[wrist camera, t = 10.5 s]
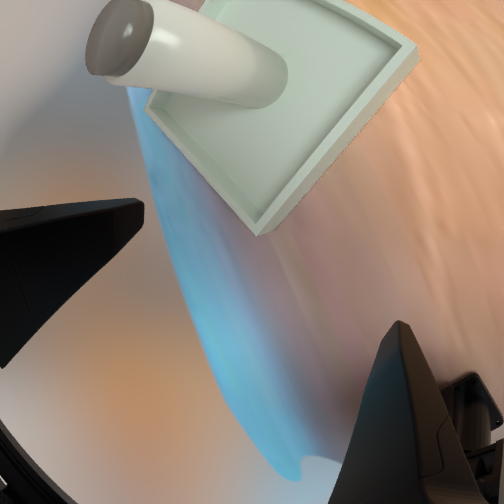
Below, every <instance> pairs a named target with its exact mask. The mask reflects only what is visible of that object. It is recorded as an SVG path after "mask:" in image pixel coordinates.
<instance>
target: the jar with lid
mask: <svg viewBox="0 0 504 504" xmlns="http://www.w3.org/2000/svg"><path fill="white" fill-rule="evenodd" d="M85 59H86V66H87V69H88V71H89V72H90V73H91V74H93V75H102V76H105V78H106V80H107V81H108V82H109V83H110V84H113V85H122V86H130V87H139V88H147V89H154V90H161V91H168V92H174V93H180V94H186V95H191V96H197V97H202V98H207V99H212V100H217V101H221V102H226V103H230V104H234V105H238V106H243V107H247V108H251V109H260V108H264V107H267V106H269V105H271V104H272V103H274V102H275V101H276V100H277V99H278V98H279V97H280V96H281V95H282V93H283V92H284V90H285V88H286V85H287V81H288V68H287V64H286V62H285V60H284V59H283V57H282V56H281V55H280V54H278V53H277V52H275V51H274V50H272V49H270V48H268V47H267V46H265V45H263V44H261V43H259V42H258V41H256V40H254V39H252V38H250V37H248V36H247V35H245V34H243V33H241V32H239V31H237V30H235V29H233V28H231V27H229V26H227V25H225V24H223V23H221V22H218V21H216V20H214V19H212V18H210V17H207V16H205V15H203V14H201V13H198V12H196V11H194V10H191V9H189V8H186V7H184V6H181V5H179V4H176V3H173V2H171V1H168V0H111V1H110V2H109V3H108V4H107V5H106V6H105V7H104V9H103V10H102V11H101V13H100V14H99V16H98V17H97V19H96V21H95V23H94V25H93V27H92V30H91V32H90V35H89V38H88V42H87V47H86V57H85Z"/></svg>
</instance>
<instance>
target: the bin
mask: <svg viewBox="0 0 504 504" xmlns="http://www.w3.org/2000/svg"><path fill="white" fill-rule="evenodd" d="M198 13H201V14H203V15H205V16H207V17H210V18H212V19H214V20H216V21H218V22H221V23H223V24H225V25H227V26H229V27H231V28H233V29H235V30H237V31H239V32H241V33H243V34H245V35H247V36H248V37H250V38H252V39H254V40H256V41H258V42H259V43H261V44H263V45H265V46H267V47H268V48H270V49H272V50H274V51H275V52H277V53H278V54H280V55H281V56H282V57H283V59H284V60H285V62H286V64H287V68H288V81H287V85H286V88H285V90H284V92H283V93H282V95H281V96H280V97H279V98H278V99H277V100H276V101H275V102H274V103H272V104H271V105H269V106H267V107H264V108H260V109H251V108H247V107H243V106H238V105H234V104H230V103H226V102H221V101H217V100H212V99H207V98H202V97H197V96H191V95H186V94H180V93H174V92H168V91H161V90H154V89H153V91H152V93H151V95H150V97H149V99H148V101H147V103H146V106H145V108H144V111H145V112H146V113H147V114H148V115H149V117H150V118H151V119H152V120H153V121H154V122H155V123H156V124H157V125H158V127H159V128H160V129H161V130H162V131H163V132H164V133H165V134H166V135H167V136H168V138H169V139H170V140H171V141H172V142H173V143H174V144H175V145H176V147H177V148H178V149H179V150H180V151H181V152H182V153H183V154H184V155H185V157H186V158H187V159H188V160H189V161H190V162H191V163H192V164H193V166H194V167H195V168H196V169H197V170H198V171H199V172H200V173H201V175H202V176H203V177H204V178H205V179H206V180H207V181H208V182H209V184H210V185H211V186H212V187H213V188H214V189H215V190H216V191H217V193H218V194H219V195H220V196H221V197H222V198H223V199H224V201H225V202H226V203H227V204H228V205H229V206H230V207H231V208H232V210H233V211H234V212H235V213H236V214H237V215H238V216H239V218H240V219H241V220H242V221H243V222H244V223H245V224H246V226H247V227H248V228H249V229H250V230H251V231H252V232H253V234H254V235H255V236H256V237H257V236H259V235H262V234H265V233H268V232H270V231H273V230H275V229H276V228H277V227H278V226H279V225H280V223H281V222H282V221H283V220H284V219H285V218H286V216H287V215H288V214H289V213H290V212H291V211H292V209H293V208H294V207H295V206H296V205H297V204H298V202H299V201H300V200H301V199H302V198H303V197H304V195H305V194H306V193H307V192H308V191H309V190H310V188H311V187H312V186H313V185H314V184H315V183H316V182H317V180H318V179H319V178H320V177H321V176H322V175H323V173H324V172H325V171H326V170H327V169H328V168H329V166H330V165H331V164H332V163H333V162H334V161H335V159H336V158H337V157H338V156H339V155H340V154H341V152H342V151H343V150H344V149H345V148H346V147H347V145H348V144H349V143H350V142H351V141H352V140H353V138H354V137H355V136H356V135H357V134H358V133H359V131H360V130H361V129H362V128H363V127H364V126H365V124H366V123H367V122H368V121H369V120H370V118H371V117H372V116H373V115H374V114H375V113H376V111H377V110H378V109H379V108H380V107H381V106H382V104H383V103H384V102H385V101H386V100H387V99H388V97H389V96H390V95H391V94H392V93H393V92H394V90H395V89H396V88H397V87H398V86H399V85H400V83H401V82H402V81H403V80H404V79H405V77H406V76H407V75H408V74H409V73H410V72H411V70H412V69H413V68H414V67H415V66H416V65H417V63H418V62H419V61H420V57H419V52H418V47H417V45H416V44H415V43H413V42H412V41H411V40H409V39H408V38H406V37H405V36H403V35H402V34H400V33H399V32H397V31H396V30H394V29H392V28H391V27H389V26H388V25H386V24H384V23H383V22H381V21H380V20H378V19H376V18H374V17H373V16H371V15H369V14H367V13H366V12H364V11H362V10H360V9H358V8H356V7H355V6H353V5H351V4H349V3H347V2H345V1H343V0H206V1H205V2H204V4H203V5H202V7H201V8H200V10H199V11H198Z"/></svg>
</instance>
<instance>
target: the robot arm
mask: <svg viewBox="0 0 504 504" xmlns="http://www.w3.org/2000/svg"><path fill="white" fill-rule="evenodd" d="M143 224H144V203H143V202H142V201H140V200H138V199H136V198H126V199H125V198H124V199H112V200H99V201H88V202H77V203H67V204H58V205H49V206H40V207H31V208H21V209H11V210H0V367H1V368H2V369H3V368H4V367H5V366H6V365H7V364H8V363H9V362H10V361H11V359H12V358H13V357H14V356H15V355H16V354H17V353H18V352H19V351H20V349H21V348H22V347H23V346H24V345H25V344H26V343H27V342H28V341H29V340H30V338H31V337H32V336H33V335H34V334H35V333H36V332H37V331H38V330H39V329H40V328H41V327H42V326H43V324H44V323H45V322H46V321H47V320H48V319H49V318H50V317H51V316H52V315H53V314H54V313H55V312H56V311H57V310H58V309H59V308H60V307H61V306H62V305H63V304H64V303H65V302H66V301H67V300H68V299H69V298H70V297H71V296H72V295H74V293H75V292H77V291H78V290H79V289H80V288H81V287H82V286H83V285H84V284H85V283H86V282H87V281H88V280H89V279H90V278H91V277H92V276H93V275H95V274H96V273H97V272H98V271H99V270H100V269H101V268H102V267H103V266H105V265H106V264H107V263H108V262H109V261H110V260H111V259H112V258H113V257H114V256H115V255H116V254H117V253H118V252H119V251H120V250H121V249H122V248H123V247H124V246H125V245H126V244H127V243H128V242H129V241H130V240H131V239H132V238H133V237H134V235H135V234H136V233H137V232H138V231H139V230H140V229H141V228H142V226H143ZM472 380H476V381H474V382H471V381H472ZM497 421H499V422H497ZM503 422H504V420H503V416H502V414H501V412H500V410H499V409H498V407H497V405H496V403H495V402H494V400H493V398H492V396H491V395H490V393H489V391H488V390H487V388H486V386H485V385H484V383H483V381H482V380H481V378H480V376H479V375H478V374H471V375H469V376H468V377H466V378H465V379H463V380H461V381H460V382H458V383H456V384H454V385H453V386H450V387H448V388H446V389H444V390H442V391H441V392H440V391H439V389H438V386H437V384H436V381H435V379H434V377H433V375H432V372H431V370H430V368H429V366H428V363H427V361H426V359H425V357H424V355H423V352H422V350H421V348H420V346H419V344H418V342H417V340H416V338H415V336H414V334H413V332H412V330H411V328H410V326H409V325H408V324H406V323H404V322H402V321H400V320H397V321H396V322H395V323H394V324H393V325H392V327H391V328H390V329H389V331H388V332H387V333H386V335H385V336H384V338H383V339H382V341H381V343H380V346H379V349H378V352H377V355H376V358H375V361H374V364H373V367H372V370H371V373H370V376H369V378H368V381H367V384H366V387H365V391H364V395H363V398H362V402H361V406H360V410H359V414H358V417H357V421H356V424H355V428H354V431H353V434H352V438H351V441H350V444H349V447H348V450H347V453H346V456H345V459H344V462H343V465H342V468H341V471H340V473H339V476H338V479H337V481H336V484H335V487H334V489H333V492H332V495H331V497H330V499H329V502H328V504H504V438H503V439H501V440H498V441H496V443H494V444H491V431H493V430H494V429H496V428H498V427H500V426H501V425H502V424H503ZM0 475H1V477H2V478H3V479H4V480H5V482H6V483H7V485H5V484H4V483H3V481H2V480H1V479H0V504H78V503H76V502H75V501H74V500H73V499H72V498H71V497H70V496H68V495H67V494H66V493H65V492H64V491H63V490H62V489H61V488H60V487H59V486H57V484H56V483H55V482H54V481H53V480H52V479H51V478H49V476H48V475H46V473H45V472H44V471H43V470H42V469H41V468H40V467H39V466H38V465H37V464H36V463H35V462H34V460H33V459H32V458H31V457H30V456H29V455H28V454H27V453H26V452H25V450H24V449H23V448H22V447H21V446H20V444H19V443H18V442H17V441H16V439H15V438H14V437H13V436H12V434H11V433H10V432H9V430H8V429H7V428H6V427H5V425H4V424H3V422H2V421H1V420H0Z"/></svg>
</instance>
